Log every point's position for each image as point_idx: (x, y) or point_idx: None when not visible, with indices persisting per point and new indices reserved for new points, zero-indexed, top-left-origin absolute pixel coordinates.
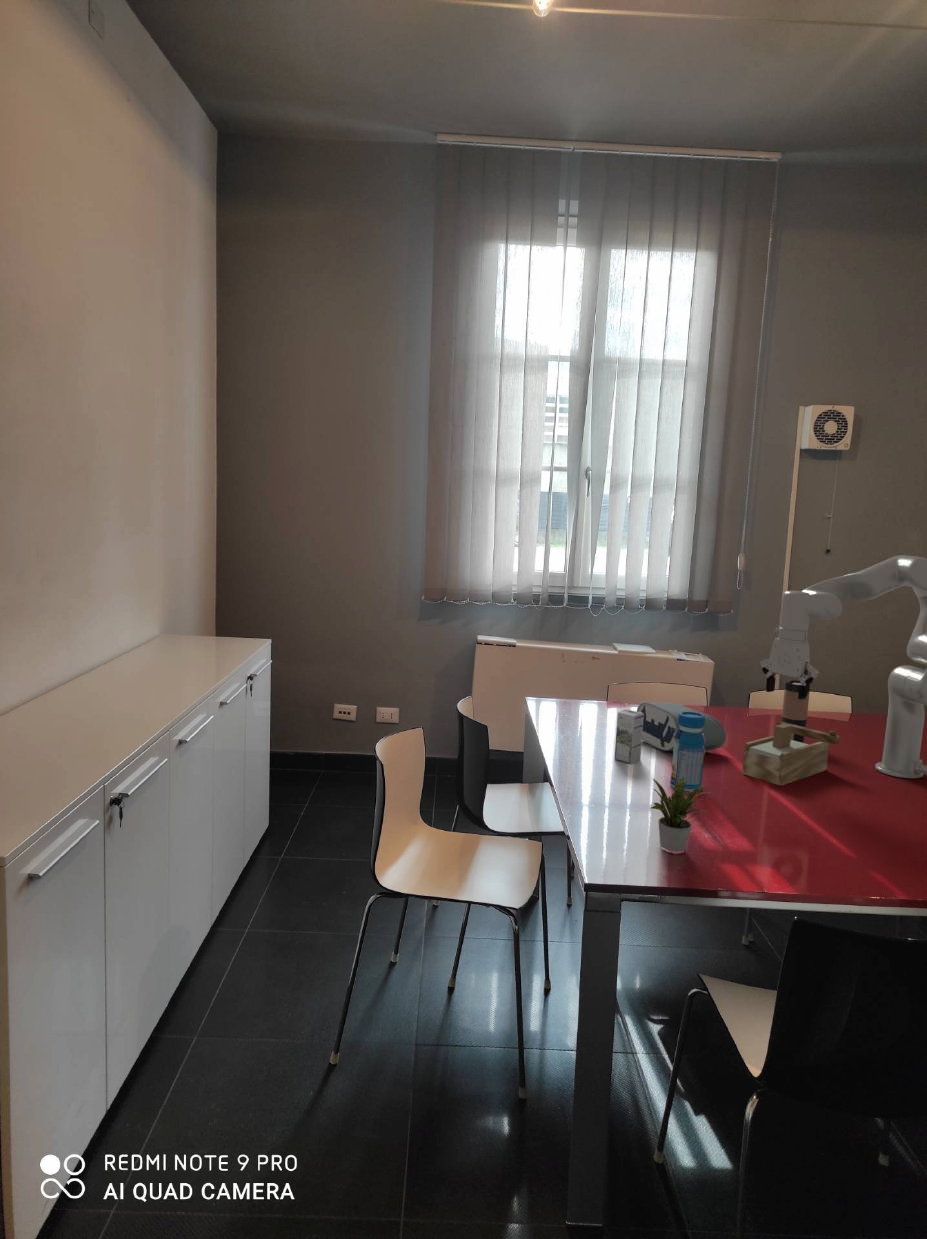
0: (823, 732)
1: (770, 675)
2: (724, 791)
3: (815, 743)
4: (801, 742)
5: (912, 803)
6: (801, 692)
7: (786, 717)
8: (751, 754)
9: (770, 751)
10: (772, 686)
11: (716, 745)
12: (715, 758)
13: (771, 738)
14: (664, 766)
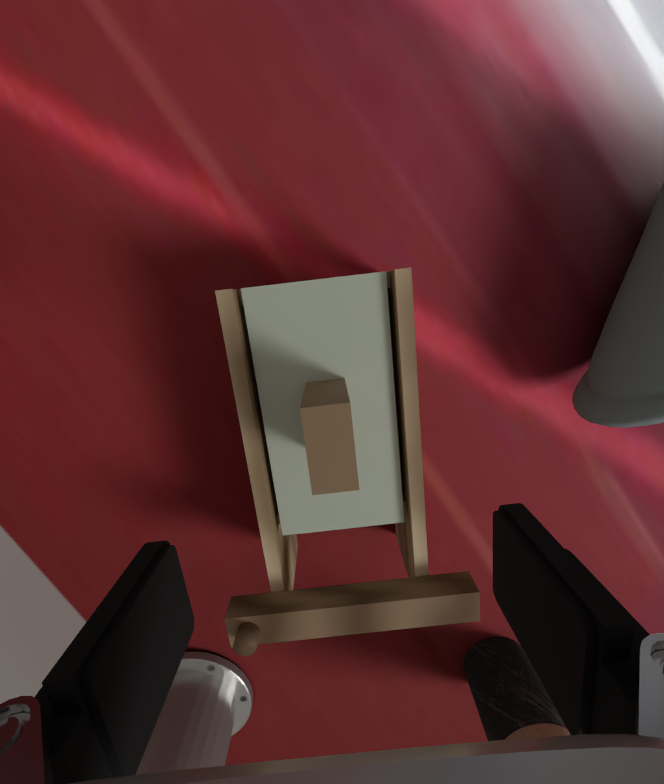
0: (294, 635)
1: (640, 694)
2: (288, 32)
3: (271, 544)
4: (467, 672)
5: (3, 514)
6: (112, 606)
7: (547, 726)
8: None
9: (298, 303)
10: (519, 601)
11: (586, 381)
12: (536, 330)
13: (406, 453)
14: (590, 53)
